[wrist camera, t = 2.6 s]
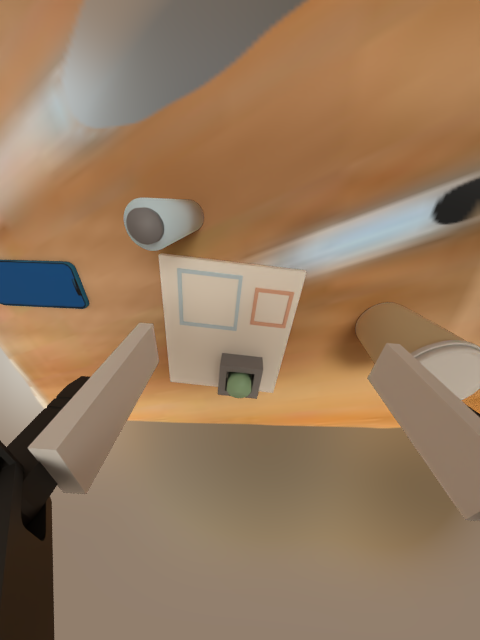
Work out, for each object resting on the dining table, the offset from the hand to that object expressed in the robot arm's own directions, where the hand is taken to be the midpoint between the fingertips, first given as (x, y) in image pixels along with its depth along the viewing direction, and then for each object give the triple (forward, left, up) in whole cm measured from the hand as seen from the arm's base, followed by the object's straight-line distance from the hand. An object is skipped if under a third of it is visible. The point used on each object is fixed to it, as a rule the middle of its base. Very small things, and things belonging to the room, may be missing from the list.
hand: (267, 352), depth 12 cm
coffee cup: (+7, +21, -19) cm, 29 cm away
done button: (+19, 0, -16) cm, 25 cm away
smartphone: (+7, -33, -20) cm, 39 cm away
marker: (-5, -9, -19) cm, 22 cm away
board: (+12, -3, -19) cm, 23 cm away
